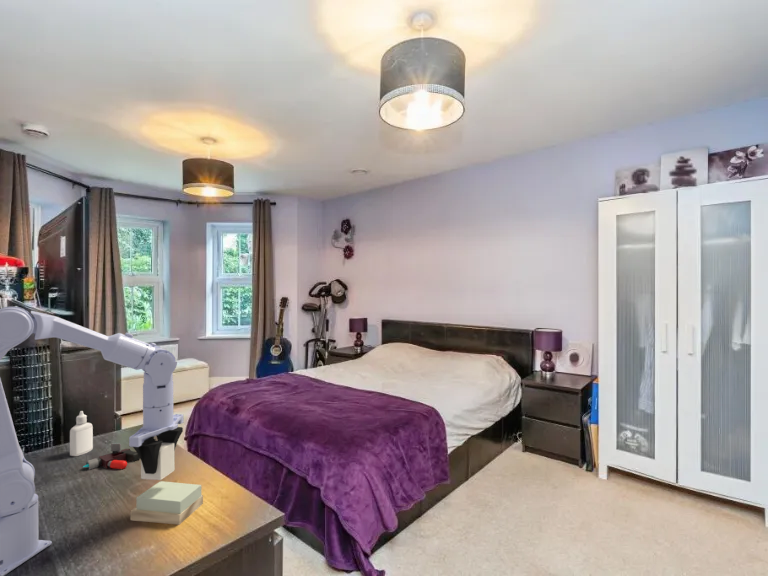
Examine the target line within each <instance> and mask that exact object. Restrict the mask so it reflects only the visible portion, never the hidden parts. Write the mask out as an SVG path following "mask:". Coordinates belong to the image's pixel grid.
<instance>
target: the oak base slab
mask: <svg viewBox="0 0 768 576" xmlns="http://www.w3.org/2000/svg"><path fill="white" fill-rule="evenodd" d="M203 504H204V494H203V495H202V494H201V497H200V498H199V499H197V500H196V501H195V502H194V503H193V504H192V505H190V506H189V507H188V508H187V509H186V510H184V511H183V512H182V513H181V514H177V513H167V512H157V511H147V510H137V509H136V506H135V507H134V508H132V509H131V510H130V521H132V522H133V521H136V522H144V523H145V522H147V523H148V522H149V523H159V524H167V525H168V524H169V525H181V524H183V522H184V521H186V519H188V518H189V517H190V516H191V515H192V514H193V513H194V512H195V511H197V510H198V509H199V508H200V507H201V506H202V505H203Z"/></svg>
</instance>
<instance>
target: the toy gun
mask: <svg viewBox="0 0 768 576" xmlns="http://www.w3.org/2000/svg"><path fill="white" fill-rule="evenodd" d="M110 451H111V452H110V453H107V454H103V455H100V456H98V457H95V458H93V459H89V460H86V462H85V465H83V466H82V468H85V469H88V470H93V469H97V468H99V467H103V468H104V469H106V470H107V469H109V468H110V469H114V470H115V469H117V470H124V469H126V468H127V466H128V462H133V463H134V462H137V461H141V459H140V457H139V455H138V453H137V452H136V451H133V450H131V449H130V448H124V449H122V444H121V443H118V442H111V443H110ZM127 461H128V462H127Z"/></svg>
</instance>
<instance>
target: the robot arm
mask: <svg viewBox="0 0 768 576" xmlns="http://www.w3.org/2000/svg"><path fill="white" fill-rule="evenodd" d="M32 334H34V336H33V337H34V340H45V339H51V338H56V339H60V340H64V341H66V342H70V343H74V344H77V345H80V346H83V347H85V348H90V349H92V350H97V351H100V353H101V355H102V358H103V359H104V360H105V361H107V362H111V363H114V364H117V365H120V366H124V367H127V368H129V369H133V370H136V371H137V370H138V371H139V370H142V371H143V384H142V426H141V427H140V428H139V429H138V430H137V431H136V432H135V433H134V434H132V435H130V436H129V437H128V439H129V440H128V441H129V442H128V443H129V444H128V445H129V447H131V448H133V449H134V450H135V452H137V453H138V455H139V457H140V463H141V462H142V464H143V468H144V471H145V473H146V474H154V473H156V471H157V465H158V455H159V450H160V447H161V445H162V442H163V443H174V452H175V450H176V446H177V444H178V441H179V439H180V437H181V435H182V433H183V430H184V428H183V427H182V426H179V425H182V424H183V423H185V422H184V414H183V413H181V414H180V413H179V414H178V413H175V414H174V374H173V373H174V372H175V370H176V368H177V366H178V362H177V361H176V357H175V355H174V354H173V353H172V352H171V351H170V350H167V349H165V348H164V347H161V346H159V345H157V343H154V342H151V341H150V343H148V342H146V341H143V340H140V339H137V338H134V335H133V334H132V333H129V332H125V334H124V333H121V332H118V333H115V334H112V335H105V334H104V333H101V332H98V331H95V330H93V329H90V328H87V327H85V326H82V325H79V324H77V323H75V322H72V321H70V320H66V319H64V318H61V317H59V316H56V315H53V314H52V315H51V314H48V313H43V312H40V311H39V312H38V311H34V310H31V311H30V312H29V311H28V310H27V309H25V308H22V307H21V306H20V307H19V306H13V305H11V306H5V307H1V308H0V361H1V360H2V359H3V358H4V356H6V355H7V353H8V352H9V351H10V350H11V349H13V348H14V347H17V346H18V345H20V344H22V343H23V342H25V341H26V340H27V339H29V337H30V336H31V335H32ZM6 397H7V396H6V394H5V390H4V387H3V383H2V378H1V377H0V576H6V575H7V574H8V573H10V572H11V571H13V570H14V569H16V568H17V567H19V566H21V565H22V564H23V563H25V562H27V561H28V560H30V559H31V558H33V557H34V556H36V555H37V554H38V553H40V552H41V551H43V550H45V549H46V548H48V547H49V546H51V545H52V541H51V540H45V539H39V495H38V494H37V493H36V485H35V476H36V470H35V467H34V465H33V464H32V463H31V462H29V460H26V458H25V456H24V452H23V450H22V447H21V446H20V444H19V440H18V437H17V433H16V429H15V426H14V422H13V418H12V414H11V411H10V408H9V404H8V399H7V398H6ZM155 437H156V438H155ZM156 439H157V440H156Z"/></svg>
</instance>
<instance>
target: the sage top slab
mask: <svg viewBox="0 0 768 576" xmlns="http://www.w3.org/2000/svg"><path fill="white" fill-rule="evenodd" d="M201 495H202V484H196V483H195V484H194V483H182V482H176V481H175V482H172V481H162V480H159V482H157V483H155V484H154V485H152V486H151V487H149V488H148V489H147V490H145V491H144V492H143V493H140V495H138V496H136V501H135V502H136V506H135V507H136V509H137V510H147V511H157V512H167V513H177V514H181V513H182V512H183V511H184V510H186V509H187V508H188V507H189V506H190V505H192V504H193V503H194V502H195V501H196V500H197V499H199V498H200V497H201Z"/></svg>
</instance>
